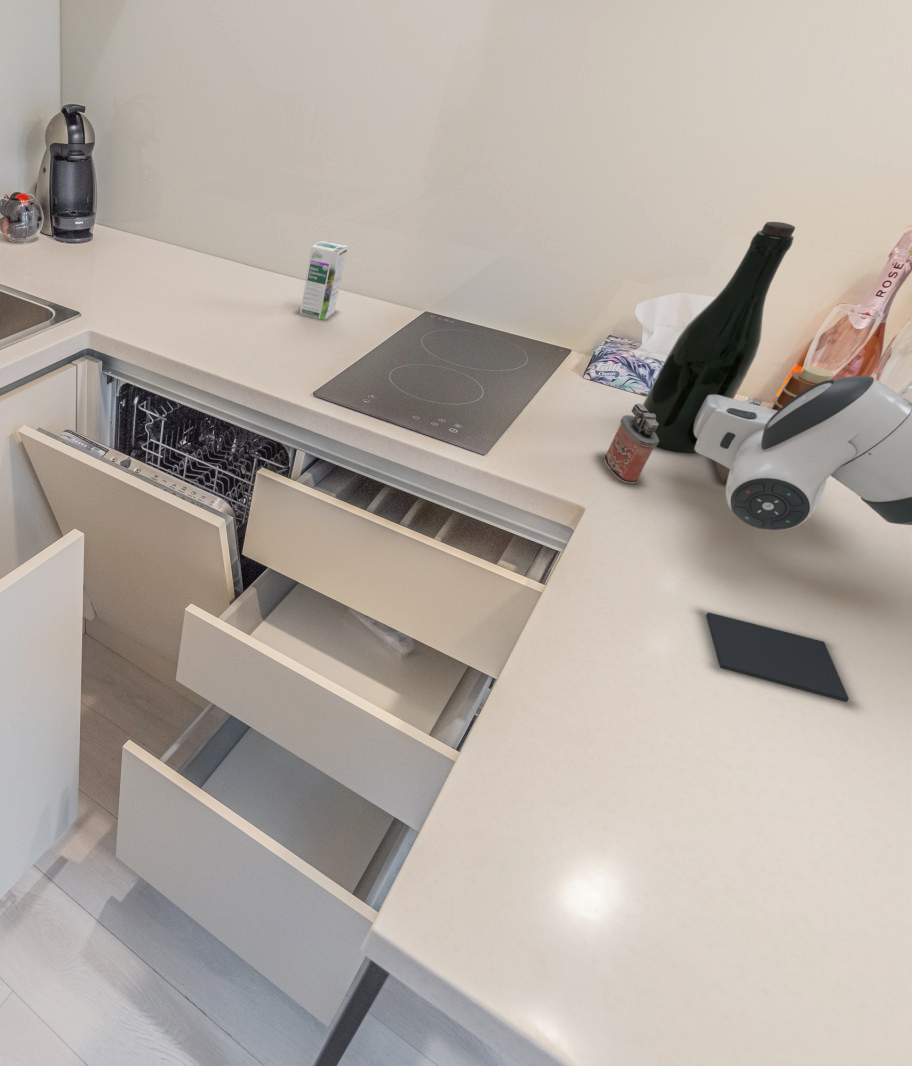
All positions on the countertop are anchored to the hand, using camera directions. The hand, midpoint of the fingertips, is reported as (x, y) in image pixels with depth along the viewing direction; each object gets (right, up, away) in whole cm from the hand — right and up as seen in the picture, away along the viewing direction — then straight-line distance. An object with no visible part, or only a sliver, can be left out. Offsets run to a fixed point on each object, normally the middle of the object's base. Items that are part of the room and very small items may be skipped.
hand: (793, 414), depth 104 cm
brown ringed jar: (+1, -4, +5) cm, 6 cm away
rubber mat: (-22, -30, -22) cm, 43 cm away
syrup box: (-50, +30, +57) cm, 82 cm away
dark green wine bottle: (-5, -2, +17) cm, 18 cm away
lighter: (-18, -8, +9) cm, 22 cm away
